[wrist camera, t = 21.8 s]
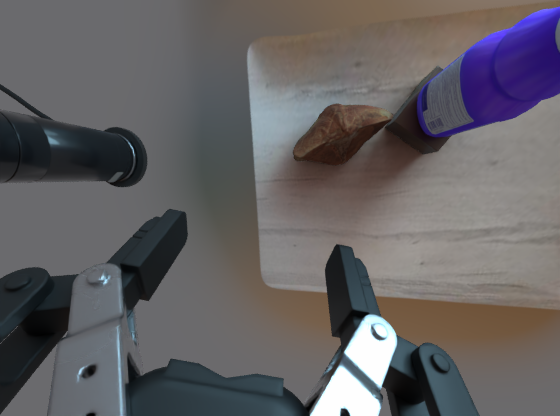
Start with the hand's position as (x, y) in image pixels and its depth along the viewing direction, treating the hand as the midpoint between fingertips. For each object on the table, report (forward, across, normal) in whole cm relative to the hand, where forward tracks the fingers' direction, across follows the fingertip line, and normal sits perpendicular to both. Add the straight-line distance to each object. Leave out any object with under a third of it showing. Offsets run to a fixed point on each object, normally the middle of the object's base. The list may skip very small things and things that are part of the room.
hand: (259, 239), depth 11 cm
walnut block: (+27, -20, -5) cm, 34 cm away
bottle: (+23, -19, -6) cm, 31 cm away
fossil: (+27, -8, +1) cm, 28 cm away
